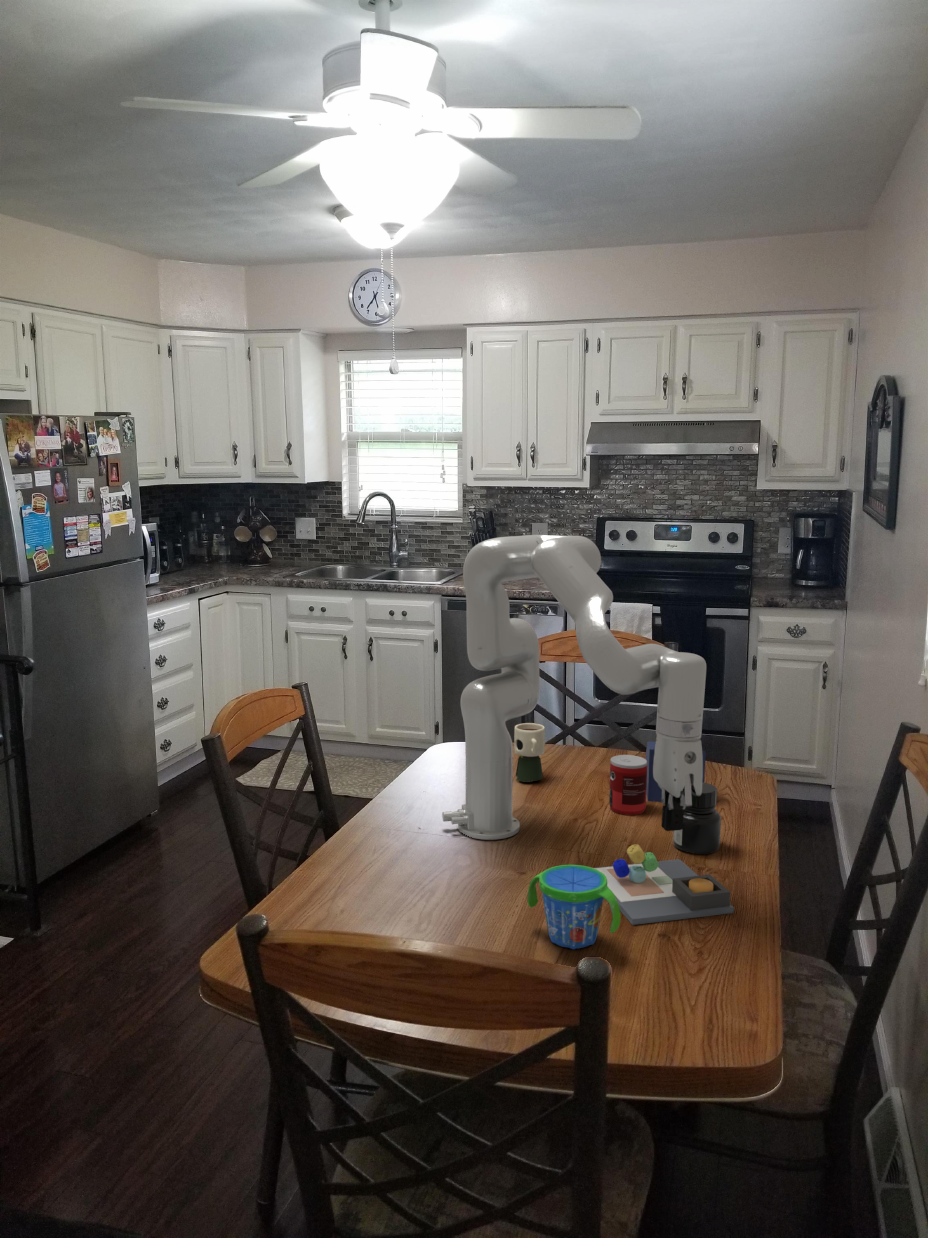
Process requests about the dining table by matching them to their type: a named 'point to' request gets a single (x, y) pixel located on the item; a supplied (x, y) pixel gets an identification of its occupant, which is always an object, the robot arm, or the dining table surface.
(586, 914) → the snack cup
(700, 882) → the button
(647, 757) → the phone stand
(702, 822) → the ink bottle
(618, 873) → the dice
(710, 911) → the colouring board
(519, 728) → the character mug
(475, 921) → the dining table surface
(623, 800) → the canned food
